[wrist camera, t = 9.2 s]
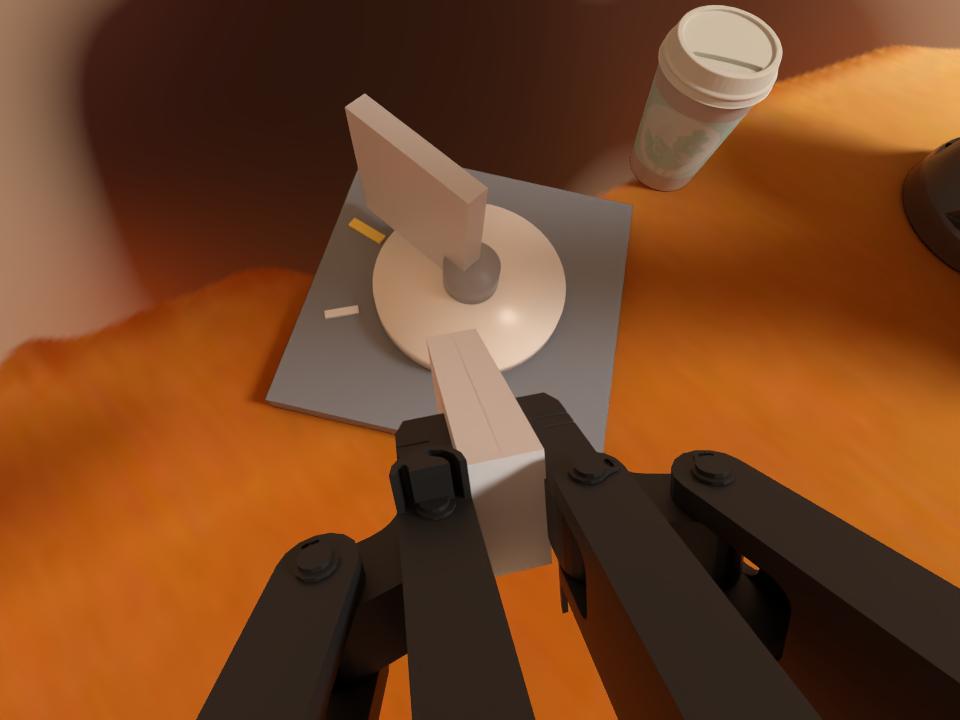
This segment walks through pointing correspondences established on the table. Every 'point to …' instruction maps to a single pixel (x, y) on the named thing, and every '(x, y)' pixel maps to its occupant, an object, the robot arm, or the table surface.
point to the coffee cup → (702, 91)
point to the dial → (450, 249)
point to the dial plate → (409, 386)
